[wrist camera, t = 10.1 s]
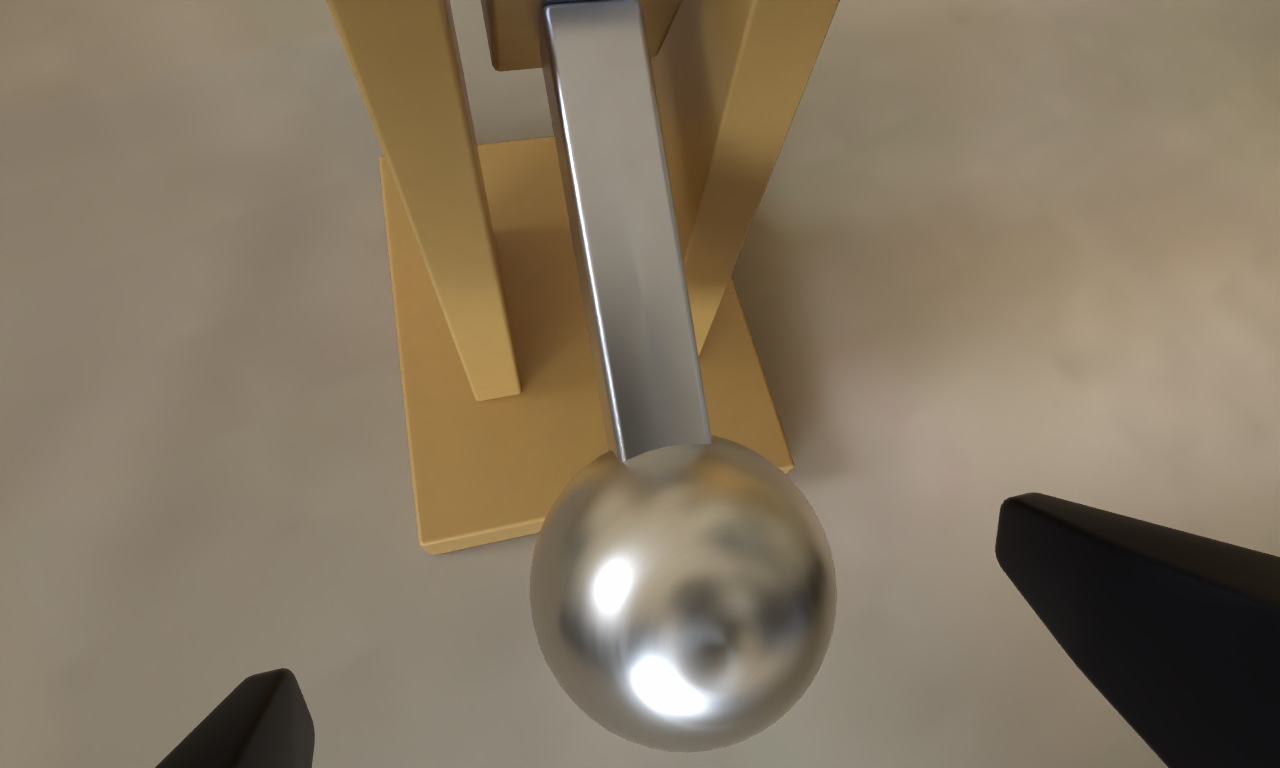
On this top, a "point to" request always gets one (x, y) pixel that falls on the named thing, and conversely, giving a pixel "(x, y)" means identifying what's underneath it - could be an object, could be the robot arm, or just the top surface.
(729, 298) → the bracket
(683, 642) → the tap lever
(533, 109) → the top surface
